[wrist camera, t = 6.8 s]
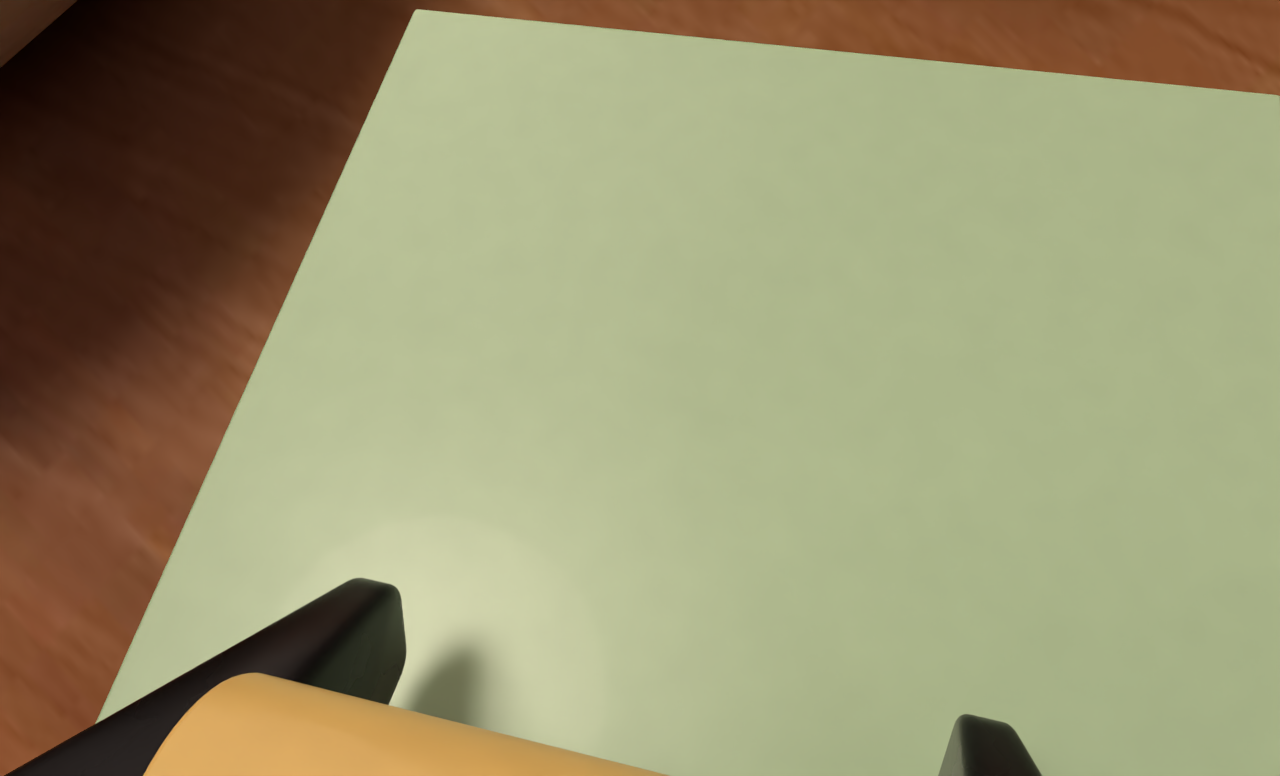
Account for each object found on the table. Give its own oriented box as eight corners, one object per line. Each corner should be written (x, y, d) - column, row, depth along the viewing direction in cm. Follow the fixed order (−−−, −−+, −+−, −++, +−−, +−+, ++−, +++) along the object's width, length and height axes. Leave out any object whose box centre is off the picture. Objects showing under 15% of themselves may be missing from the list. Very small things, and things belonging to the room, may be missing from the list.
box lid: (1288, 1363, 8) (2050, 2083, 3) (41, 953, 10) (-552, 1036, 5) (1252, 137, 13) (1529, -260, 8) (430, 48, 15) (292, -301, 10)
